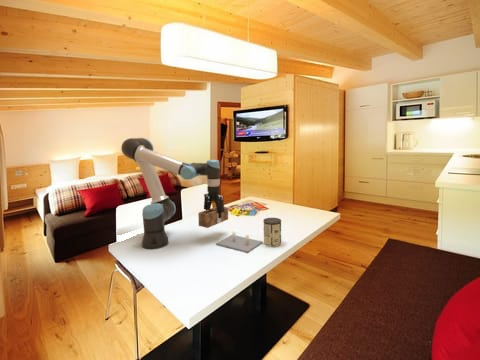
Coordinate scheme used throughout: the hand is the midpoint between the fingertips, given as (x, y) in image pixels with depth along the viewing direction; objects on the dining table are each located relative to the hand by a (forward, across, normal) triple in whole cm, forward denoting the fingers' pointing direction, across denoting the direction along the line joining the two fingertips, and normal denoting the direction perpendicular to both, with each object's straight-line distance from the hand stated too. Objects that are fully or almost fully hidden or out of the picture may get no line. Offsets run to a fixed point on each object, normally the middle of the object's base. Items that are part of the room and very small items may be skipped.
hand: (214, 221), depth 166 cm
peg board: (+10, +19, 0) cm, 21 cm away
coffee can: (+10, +35, +11) cm, 38 cm away
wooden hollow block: (0, 0, 0) cm, 0 cm away
